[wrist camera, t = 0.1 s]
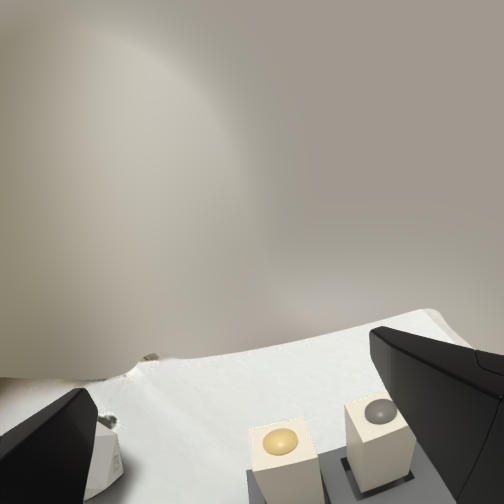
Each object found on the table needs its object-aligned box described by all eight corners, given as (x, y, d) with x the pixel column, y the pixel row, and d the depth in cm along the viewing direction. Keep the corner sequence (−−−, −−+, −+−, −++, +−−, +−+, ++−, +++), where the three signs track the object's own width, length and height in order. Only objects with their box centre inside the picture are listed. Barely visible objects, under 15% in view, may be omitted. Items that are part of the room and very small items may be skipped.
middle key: (407, 474, 14) (420, 417, 12) (361, 493, 14) (363, 440, 12) (390, 443, 17) (395, 383, 16) (347, 458, 17) (344, 401, 16)
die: (146, 512, 18) (129, 404, 22) (44, 519, 12) (21, 399, 16) (114, 485, 23) (102, 398, 27) (35, 487, 18) (21, 393, 21)
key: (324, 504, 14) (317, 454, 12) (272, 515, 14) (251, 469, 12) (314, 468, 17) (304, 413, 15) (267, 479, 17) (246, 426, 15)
